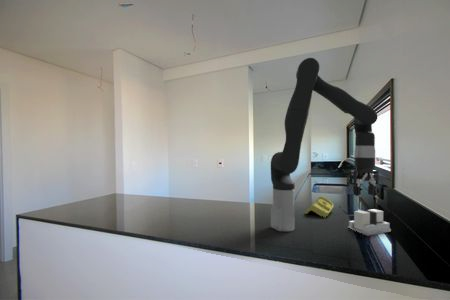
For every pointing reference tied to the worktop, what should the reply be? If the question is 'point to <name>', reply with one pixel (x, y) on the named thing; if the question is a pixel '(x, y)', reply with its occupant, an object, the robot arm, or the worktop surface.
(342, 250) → the worktop surface
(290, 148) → the robot arm
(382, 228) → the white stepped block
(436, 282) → the worktop surface
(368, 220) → the block
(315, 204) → the plastic component
